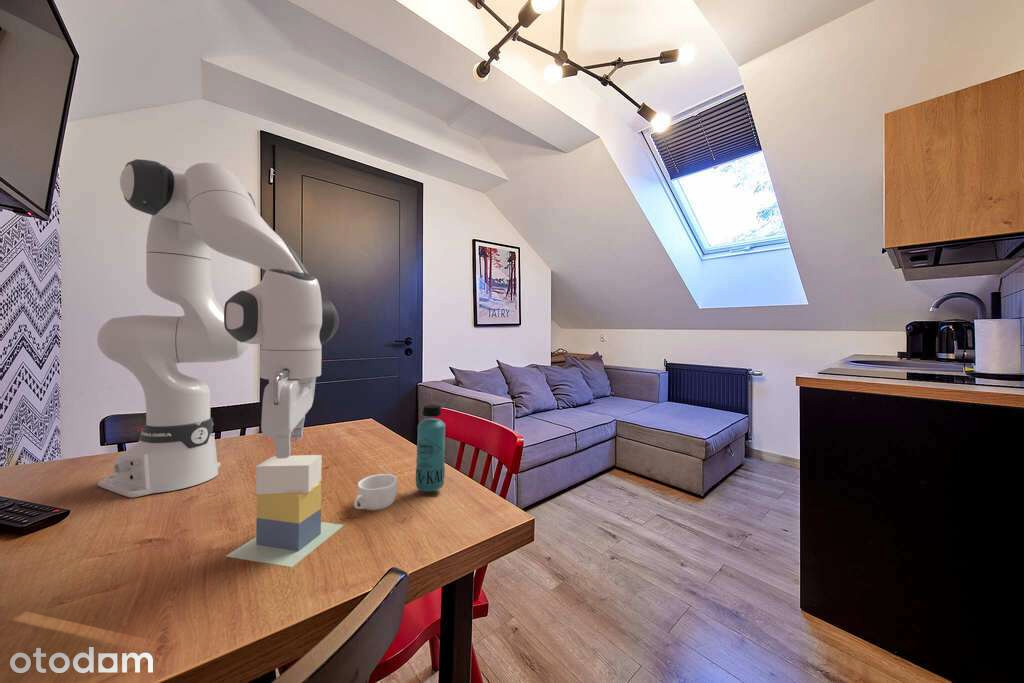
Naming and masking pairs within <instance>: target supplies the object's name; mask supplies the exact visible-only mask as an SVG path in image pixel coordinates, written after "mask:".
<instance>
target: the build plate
mask: <svg viewBox="0 0 1024 683" xmlns="http://www.w3.org/2000/svg"><path fill="white" fill-rule="evenodd" d="M344 526H345V525H344V524H340V523H339V524H338V523H332V522H324V521H321V534H320V535H319V536H318V537H316V538H315V539H314V540H312V541H311V542H310V543H309V544H307V545H306V546H305V547H303V548H302V549H301V550H299V551H294V550H287V549H281V548H274V547H268V546H261V545H256V536H255V537H254V538H252V539H250V540H249V541H247V542H246V543H243V545H241V546H239V547H237V548H236V549H234V550H233V551H231V552H229V553H228V554H226V555H225V557H226V558H227V557H228V558H233V559H238V560H239V559H240V560H245V561H251V562H257V563H263V564H268V565H274V566H282V567H286V568H293V567H294V566H295V565H297V564H298V563H299V562H300V561H302V560H303V559H304V558H305V557H307V556H308V555H309V554H310V553H312V552H313V551H314V550H315V549H317V548H318V547H319V546H320V545H322V544H323V543H325V541H326V540H328V539H329V538H330V537H331V536H333V535H334V534H335V533H337V532H338V531H339V530H340V529H342V528H343V527H344Z"/></svg>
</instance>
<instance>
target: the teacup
mask: <svg viewBox="0 0 1024 683" xmlns="http://www.w3.org/2000/svg"><path fill="white" fill-rule="evenodd" d="M397 489H398V478H397V476H395V475H393V474H389V473H379V474H373V475H369V476H365V478H362V479H361V480H359V481H358V482H357V496H356V497H355V498H354V502H353V507H354V509H357V510H366V511H380V510H384V509H386V508H389V507H390V506H392V504H393V503H394V501H395V500H396V498H397V497H396V496H397ZM358 504H359V505H360V506H358Z"/></svg>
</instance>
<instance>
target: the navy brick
mask: <svg viewBox="0 0 1024 683" xmlns="http://www.w3.org/2000/svg"><path fill="white" fill-rule="evenodd" d="M321 522H322V508H321V509H320V510H318V511H317V512H315V513H314V514H312V515H311V516H309V517H308V518H306V519H305V520H303V521H302V522H301V523H299V524H298V523H291V522H284V521H276V520H269V519H262V518H257V517H256V525H255V526H256V527H255V528H256V529H255V530H256V532H255V533H256V534H255V535H256V536H255V537H256V545H261V546H268V547H274V548H281V549H287V550H294V551H299V550H301V549H302V548H303V547H305V546H306V545H307V544H309V543H310V542H311V541H312V540H314V539H315V538H316V537H318V536H319V535H320V534H321Z"/></svg>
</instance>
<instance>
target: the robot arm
mask: <svg viewBox="0 0 1024 683" xmlns="http://www.w3.org/2000/svg"><path fill="white" fill-rule="evenodd" d="M119 185H120V190H121V192H122V195H123V198H124V200H125V202H127V204H128V205H129V206H130V207H131V208H132V209H135V210H137V211H140V212H141V213H144V214H147V215H150V216H151V218H150V221H149V225H148V229H147V235H146V246H145V247H146V249H145V250H146V251H145V252H146V254H145V255H146V258H145V261H146V263H145V265H146V266H145V268H146V270H145V271H146V285H147V287H148V290H150V291H151V292H152V293H153V294H155V295H156V296H158V297H160V298H162V299H164V300H166V301H169V302H171V303H174V304H177V305H178V306H180V307H181V309H182V310H183V313H184V315H180V316H174V315H173V316H172V315H150V314H149V315H148V314H147V315H146V314H145V315H144V314H138V315H127V316H119V317H111V319H109V320H107V321H106V322H105V323H104V324H102V326H101V328H99V330H98V333H97V337H96V338H97V339H96V341H97V345H98V348H99V350H100V351H101V353H102V354H103V355H104V356H105V357H106V358H107V359H109V360H111V361H113V362H115V363H117V364H119V365H121V366H122V367H123V368H125V369H126V370H128V371H129V372H130V373H132V375H133V376H134V377H135V378H136V379H137V381H138V382H139V384H140V385H141V387H142V391H143V393H144V394H143V395H144V400H145V402H144V403H145V413H146V414H145V415H146V417H145V418H146V424H144V425H140V426H137V428H138V430H137V432H140V436H139V439H138V441H137V442H136V443H134V444H132V446H131V447H130V448H128V449H127V450H126V451H124V452H123V453H121V454H120V455H118V457H116V459H115V462H114V467H113V468H114V469H113V470H114V472H113V474H112V475H110V476H108V477H105V478H103V479H101V480H99V481H98V484H97V487H99V486H100V487H99V488H102V489H105V490H108V491H111V492H113V493H116V494H119V495H121V496H124V497H126V498H137V497H142V496H146V495H150V494H151V495H152V494H158V493H166V492H173V491H177V490H181V489H182V490H183V489H185V488H190V487H193V486H196V485H200V484H203V483H206V482H207V481H210V480H212V479H213V478H215V477H216V476H218V475H219V468H221V466H222V465H221V462H220V461H218V457H217V447H216V441H215V440H216V439H215V437H214V436H213V435H212V433H213V430H214V427H213V426H214V422H213V417H212V416H211V398H212V397H211V394H212V393H211V389H210V387H209V385H208V384H207V383H206V382H205V381H202V380H201V379H198V378H195V377H191V376H190V375H186V374H183V373H182V372H181V371H179V369H178V367H177V364H181V363H182V364H183V363H184V364H185V363H186V364H187V363H189V364H190V363H217V362H226V361H230V360H234V359H239V358H240V357H241V356H243V355H244V353H245V352H246V350H247V349H248V346H249V344H250V345H260V347H259V378H261V379H264V380H268V383H267V384H266V386H265V387H264V390H263V397H262V407H261V424H260V425H261V427H260V429H261V434H262V436H263V437H272V440H273V442H274V446H275V456H276V457H277V458H278V459H281V458H288V457H289V456H290V455H291V453H292V443H291V441H299V440H300V439H302V438H303V433H304V426H305V425H304V424H305V418H306V415H307V414H308V412H309V411H310V410H311V408H312V406H313V403H314V399H315V389H316V381H317V378H318V377H321V375H322V359H323V358H322V346H323V345H325V344H326V343H327V342H328V341H330V339H332V338H333V336H334V335H335V334H336V333H337V331H338V329H339V325H340V318H339V317H340V316H339V312H338V310H337V309H336V307H335V305H334V303H332V301H331V300H330V299H329V297H327V296H326V295H325V293H323V292H322V291H321V286H320V283H319V280H318V279H317V278H316V277H315V276H314V275H311V274H310V273H309V272H308V270H307V268H306V267H305V265H304V264H303V263H302V261H301V259H300V257H299V256H298V254H296V252H295V251H294V249H293V247H292V246H291V245H290V244H289V243H288V242H287V241H286V240H285V239H284V238H282V237H281V236H279V235H278V233H276V232H275V231H274V230H273V228H272V227H270V225H269V224H268V223H267V222H266V221H265V220H264V218H263V217H262V216H261V215H260V213H259V212H258V210H257V207H256V202H255V199H254V198H253V196H252V194H251V193H250V192H248V191H247V189H246V188H245V186H244V185H243V183H242V182H241V181H240V179H239V178H238V176H237V175H235V174H234V173H233V172H232V170H230V169H228V168H226V167H224V166H223V165H220V164H217V163H213V162H199V163H195V164H193V165H191V166H190V167H188V168H187V169H184V168H180V167H176V166H170V165H166V164H162V163H160V162H159V161H156V160H155V161H154V160H148V159H133V160H131V161H128V162H127V163H126V165H125V166H124V168H123V170H122V171H121V173H120V177H119ZM212 250H213V251H215V252H217V253H219V254H221V255H224V256H227V257H231V258H233V259H237V260H239V261H242V262H245V263H248V264H251V265H254V266H255V267H258V268H260V269H262V270H265V272H264V273H263V276H262V279H261V281H260V282H259V283H258V284H256V285H255V286H253V287H251V288H249V289H247V290H240V291H238V292H236V293H235V294H233V295H232V296H230V298H228V299H227V301H225V303H224V307H222V306H221V304H220V303H219V302H218V300H217V298H216V294H215V292H214V287H213V278H212V277H213V276H212V275H213V274H212ZM139 428H140V429H139Z"/></svg>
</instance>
